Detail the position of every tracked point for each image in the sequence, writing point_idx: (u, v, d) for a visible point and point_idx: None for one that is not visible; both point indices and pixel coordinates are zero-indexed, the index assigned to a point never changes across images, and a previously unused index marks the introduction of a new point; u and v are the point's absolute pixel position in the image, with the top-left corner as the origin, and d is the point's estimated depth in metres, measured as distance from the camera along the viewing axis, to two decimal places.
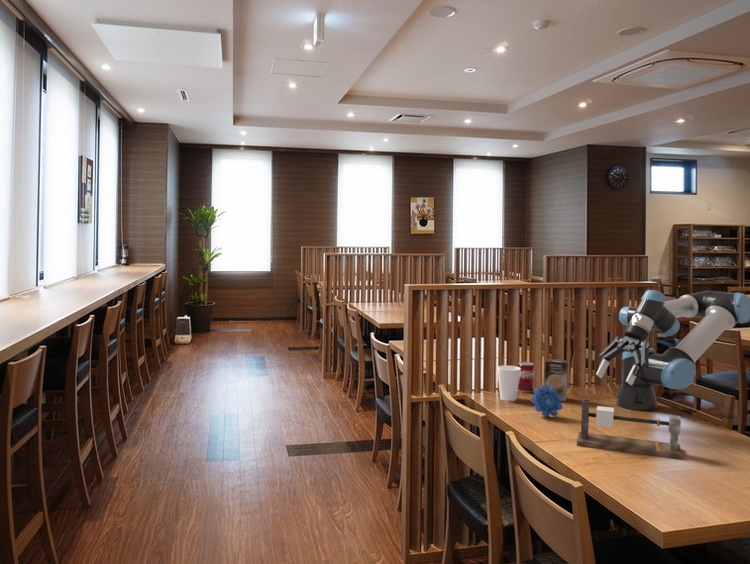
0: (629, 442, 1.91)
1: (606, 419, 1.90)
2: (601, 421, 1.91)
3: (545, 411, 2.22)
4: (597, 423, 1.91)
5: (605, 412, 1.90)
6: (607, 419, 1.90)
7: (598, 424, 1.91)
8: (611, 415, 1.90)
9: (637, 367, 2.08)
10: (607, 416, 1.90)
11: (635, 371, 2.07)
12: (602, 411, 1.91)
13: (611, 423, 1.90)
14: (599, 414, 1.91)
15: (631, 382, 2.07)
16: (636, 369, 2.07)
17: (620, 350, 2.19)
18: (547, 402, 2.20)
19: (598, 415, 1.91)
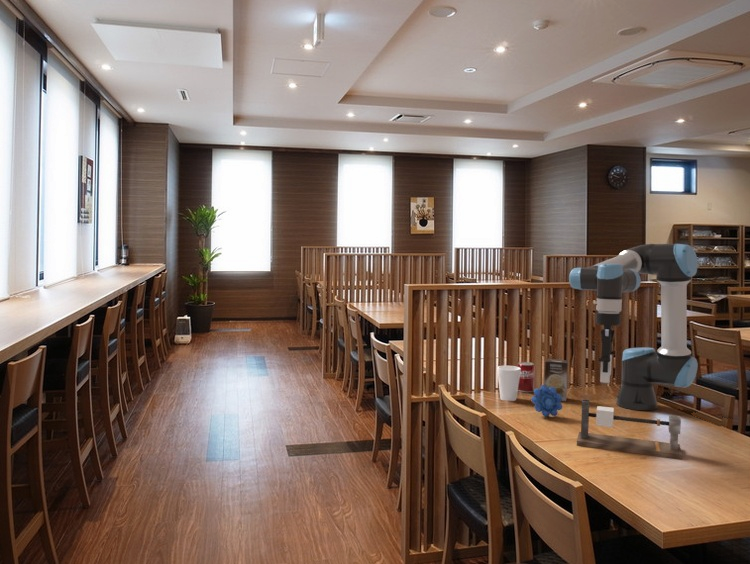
0: (629, 442, 1.91)
1: (606, 419, 1.90)
2: (601, 421, 1.91)
3: (545, 411, 2.22)
4: (597, 423, 1.91)
5: (605, 412, 1.90)
6: (607, 419, 1.90)
7: (598, 424, 1.91)
8: (611, 415, 1.90)
9: (603, 363, 1.85)
10: (607, 416, 1.90)
11: (602, 368, 1.85)
12: (602, 411, 1.91)
13: (611, 423, 1.90)
14: (599, 414, 1.91)
15: (606, 380, 1.85)
16: (603, 365, 1.85)
17: None
18: (547, 402, 2.20)
19: (598, 415, 1.91)
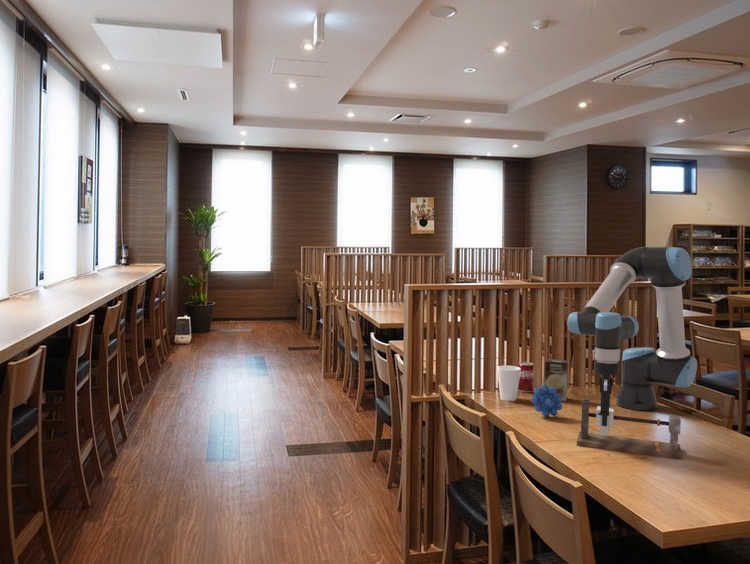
0: (629, 442, 1.91)
1: None
2: None
3: (545, 411, 2.22)
4: (597, 423, 1.91)
5: None
6: None
7: (598, 424, 1.91)
8: (611, 415, 1.90)
9: (602, 417, 1.89)
10: None
11: (602, 422, 1.90)
12: None
13: (611, 423, 1.90)
14: None
15: (606, 433, 1.90)
16: (602, 419, 1.89)
17: None
18: (547, 402, 2.20)
19: (598, 415, 1.91)
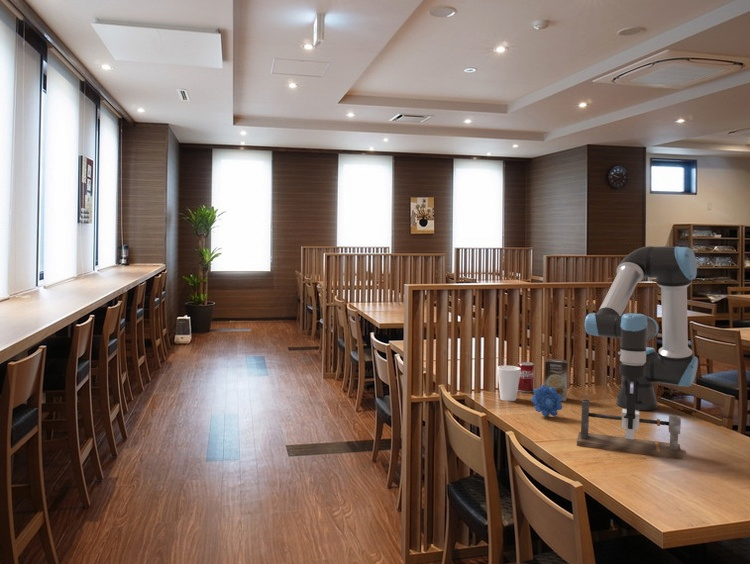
0: (629, 442, 1.91)
1: None
2: None
3: (545, 411, 2.22)
4: (622, 426, 1.88)
5: None
6: None
7: (624, 427, 1.88)
8: (637, 418, 1.87)
9: (628, 419, 1.86)
10: None
11: (627, 425, 1.87)
12: None
13: (637, 426, 1.87)
14: None
15: (631, 437, 1.87)
16: (627, 422, 1.87)
17: None
18: (547, 402, 2.20)
19: (624, 418, 1.88)
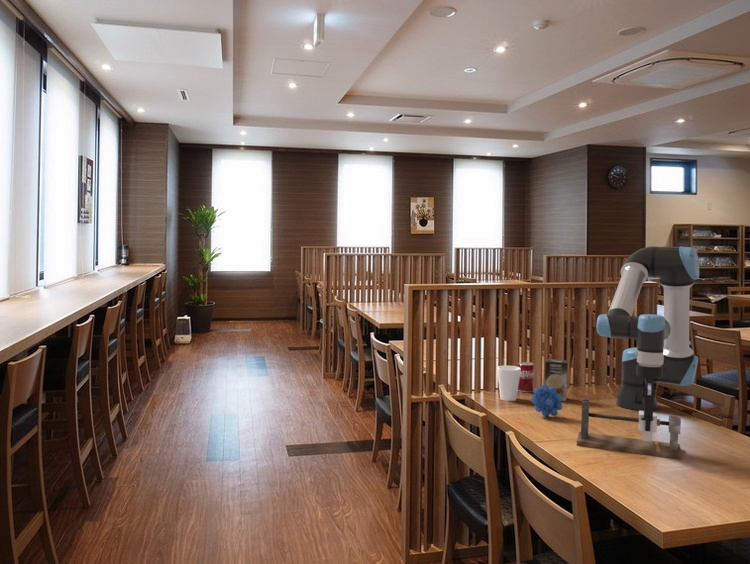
0: (629, 442, 1.91)
1: None
2: None
3: (545, 411, 2.22)
4: (640, 428, 1.86)
5: None
6: None
7: (641, 429, 1.86)
8: (654, 420, 1.85)
9: (645, 421, 1.85)
10: None
11: (645, 427, 1.85)
12: None
13: (654, 428, 1.85)
14: None
15: (649, 439, 1.85)
16: (645, 424, 1.85)
17: None
18: (547, 402, 2.20)
19: None
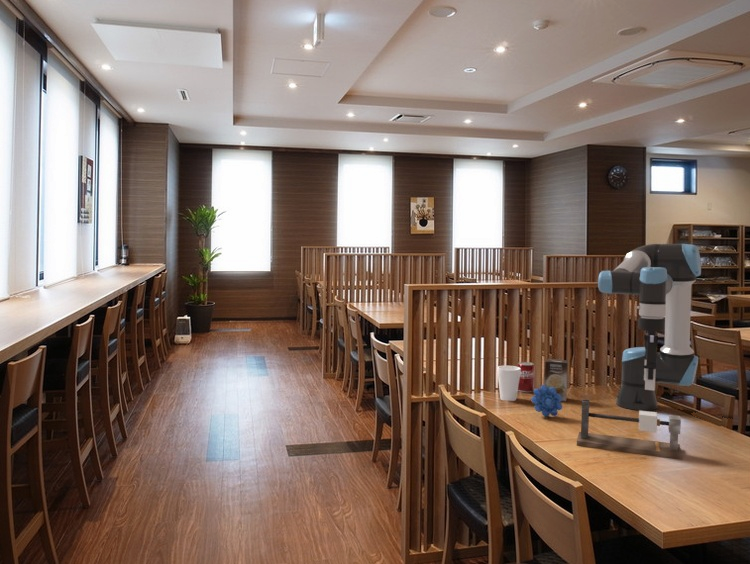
0: (629, 442, 1.91)
1: (649, 424, 1.85)
2: (644, 426, 1.86)
3: (545, 411, 2.22)
4: (640, 428, 1.86)
5: (648, 417, 1.85)
6: (651, 424, 1.85)
7: (641, 429, 1.86)
8: (655, 420, 1.85)
9: (648, 370, 1.80)
10: (650, 420, 1.85)
11: (648, 375, 1.80)
12: (645, 416, 1.86)
13: (655, 428, 1.85)
14: (642, 419, 1.86)
15: (652, 388, 1.80)
16: (648, 373, 1.80)
17: None
18: (547, 402, 2.20)
19: (641, 419, 1.86)
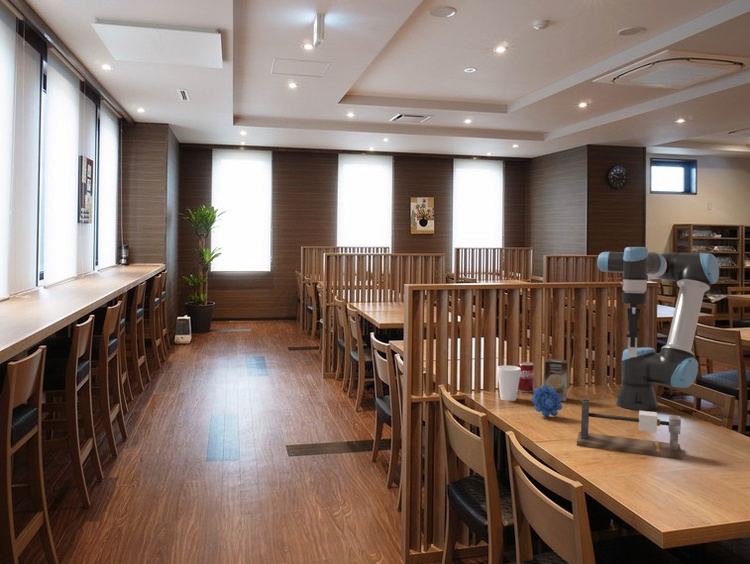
0: (629, 442, 1.91)
1: (649, 424, 1.85)
2: (644, 426, 1.86)
3: (545, 411, 2.22)
4: (640, 428, 1.86)
5: (648, 417, 1.85)
6: (651, 424, 1.85)
7: (641, 429, 1.86)
8: (655, 420, 1.85)
9: (630, 338, 2.00)
10: (650, 420, 1.85)
11: (630, 343, 2.00)
12: (645, 416, 1.86)
13: (655, 428, 1.85)
14: (642, 419, 1.86)
15: (634, 354, 2.01)
16: (630, 341, 2.00)
17: None
18: (547, 402, 2.20)
19: (641, 419, 1.86)
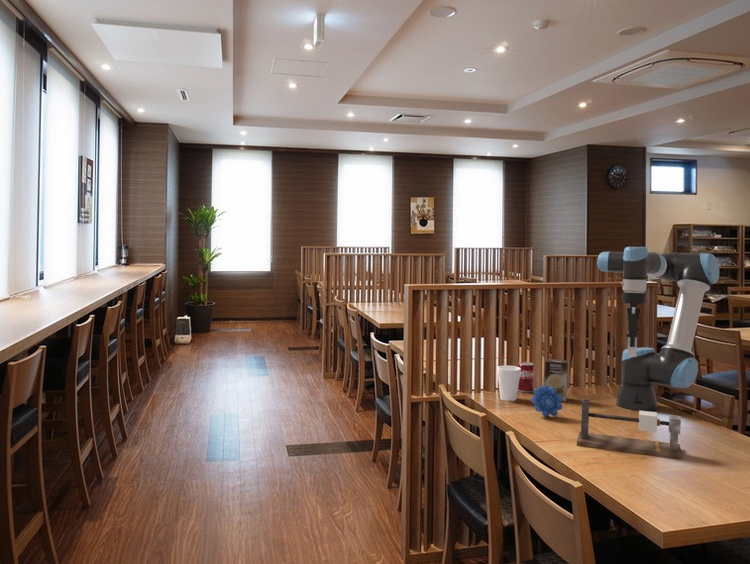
0: (629, 442, 1.91)
1: (649, 424, 1.85)
2: (644, 426, 1.86)
3: (545, 411, 2.22)
4: (640, 428, 1.86)
5: (648, 417, 1.85)
6: (651, 424, 1.85)
7: (641, 429, 1.86)
8: (655, 420, 1.85)
9: (630, 338, 2.00)
10: (650, 420, 1.85)
11: (630, 343, 2.00)
12: (645, 416, 1.86)
13: (655, 428, 1.85)
14: (642, 419, 1.86)
15: (633, 354, 2.01)
16: (630, 341, 2.00)
17: None
18: (547, 402, 2.20)
19: (641, 419, 1.86)
